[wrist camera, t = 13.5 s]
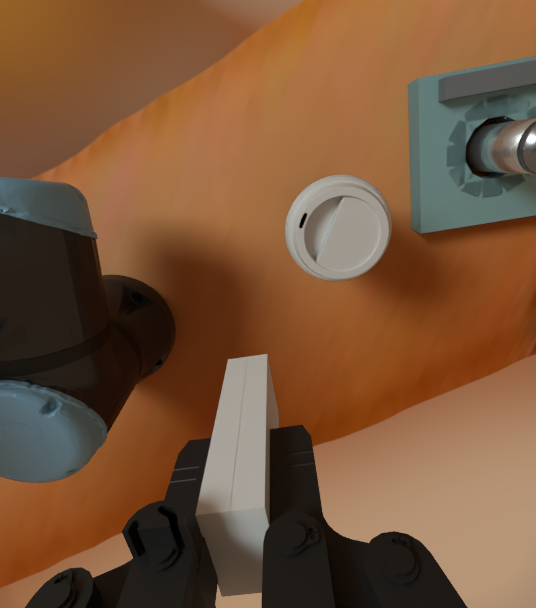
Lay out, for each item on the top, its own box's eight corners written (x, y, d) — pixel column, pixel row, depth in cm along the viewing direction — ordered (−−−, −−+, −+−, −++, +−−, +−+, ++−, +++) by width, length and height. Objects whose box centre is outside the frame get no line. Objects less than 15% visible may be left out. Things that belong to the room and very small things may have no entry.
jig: (411, 229, 46) (426, 236, 42) (408, 83, 40) (424, 74, 36) (544, 207, 45) (573, 212, 41) (560, 55, 39) (595, 42, 35)
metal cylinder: (458, 174, 44) (522, 179, 33) (458, 129, 42) (526, 119, 31) (499, 167, 44) (578, 169, 32) (502, 122, 42) (586, 109, 31)
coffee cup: (320, 152, 43) (343, 149, 29) (375, 208, 45) (422, 230, 31) (265, 214, 46) (262, 239, 32) (320, 264, 48) (340, 308, 34)
